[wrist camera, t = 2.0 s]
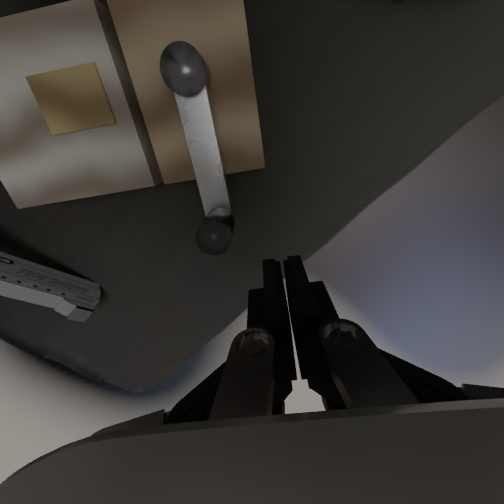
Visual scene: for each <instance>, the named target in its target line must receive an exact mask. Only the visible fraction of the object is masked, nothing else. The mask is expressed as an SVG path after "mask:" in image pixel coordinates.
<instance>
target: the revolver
mask: <svg viewBox="0 0 504 504" xmlns="http://www.w3.org/2000/svg"><path fill="white" fill-rule="evenodd" d="M0 295H1V296H5V297H9V298H14V299H18V300H22V301H26V302H30V303H34V304H38V305H42V306H46V307H50V308H55V311H57V312H59V313H60V314H62V315H65V316H68V319H70V320H75V321H80V322H84V321H85V320H86V319H87V318H88V317H89V316H90V314H91V313H92V312H93V311H94V310H95V308H96V306H97V305H98V303H99V300H100V296H101V290H100V285H99V284H97V283H96V282H93V281H90V280H87V279H84V278H80V277H77V276H74V275H71V274H68V273H65V272H62V271H59V270H56V269H53V268H50V267H47V266H44V265H41V264H38V263H35V262H32V261H29V260H26V259H23V258H19V257H16V256H13V255H10V254H7V253H4V252H1V251H0Z"/></svg>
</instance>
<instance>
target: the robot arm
mask: <svg viewBox="0 0 504 504" xmlns="http://www.w3.org/2000/svg"><path fill="white" fill-rule="evenodd" d="M287 258H288V260H283V263H284V272H285V280H286V288H287V297H288V305H289V311H288V306H287V300H286V294H285V289H284V283H283V278H282V272H281V266H280V261H275V259H266V260H263V279H264V288H260V289H252V290H249V296H248V316H247V330H244V331H242V332H240V333H239V334H238V335H237V336H236V337H235V338H234V340H233V342H232V344H231V347H230V351H229V354H228V357H227V360H226V362H225V363H223V364H222V365H221V366H220V367H219V368H217V369H216V370H215V371H214V372H213V373H212V374H210V375H209V376H208V377H207V378H206V379H205V380H203V381H202V382H201V383H200V384H199V385H198V386H196V387H195V388H194V389H193V390H192V391H191V392H189V393H188V394H187V395H186V396H185V397H184V398H182V399H181V400H180V401H179V402H178V403H177V404H176V405H175V406H174V408H173V409H172V410H171V411H169V412H165V410H164V409H162V410H160V411H156V412H153V413H150V414H147V415H144V416H141V417H138V418H134V419H131V420H128V421H125V422H122V423H119V424H116V425H112V426H110V427H106V428H103V429H101V430H99V431H97V432H95V433H94V434H93V435H91V436H90V437H87V438H84V439H81V440H78V441H75V442H72V443H69V444H67V445H64V446H62V447H60V448H58V449H56V450H54V451H52V452H49V453H47V454H45V455H43V456H41V457H39V458H37V459H36V460H34V461H32V462H30V463H28V464H27V465H26V466H24V467H22V468H21V469H19V470H18V471H16V472H15V473H13V474H12V475H11V476H9V477H8V478H7V479H6V480H5V481H3V482H2V483H1V484H0V504H504V388H498V387H489V386H479V385H471V384H462V387H461V388H460V387H456V386H454V385H453V384H452V383H450V382H448V381H446V380H445V379H443V378H441V377H439V376H437V375H434V374H432V373H430V372H428V371H426V370H424V369H422V368H419V367H417V366H415V365H413V364H411V363H408V362H407V361H404V360H402V359H400V358H397V357H396V356H394V355H392V354H389V353H387V352H385V351H383V350H381V349H379V348H377V347H376V345H375V344H374V343H373V341H372V340H371V339H370V338H369V336H368V335H367V334H366V332H365V331H364V330H363V329H362V328H361V327H360V326H359V325H358V324H356V323H354V322H352V321H349V320H346V319H339V316H338V314H337V312H336V310H335V308H334V305H333V303H332V301H331V299H330V296H329V294H328V292H327V290H326V287H325V285H324V283H323V281H316V282H309V280H308V278H307V274H306V272H305V269H304V266H303V263H302V260H301V257H300V255H296V256H289V257H287ZM289 312H290V318H291V324H292V329H293V335H294V340H295V346H296V351H297V357H298V362H299V368H300V372H301V378H302V379H307V380H308V385H309V388H310V389H312V390H314V391H315V392H317V393H318V394H320V395H321V396H322V401H323V404H324V407H325V410H326V411H318V412H306V413H293V414H285V402H284V400H285V399H286V397H287V396H288V395H289V394H290V393H291V392H292V382H291V380H297V375H296V367H295V358H294V350H293V342H292V333H291V325H290V318H289Z"/></svg>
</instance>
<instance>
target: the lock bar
mask: <svg viewBox="0 0 504 504" xmlns="http://www.w3.org/2000/svg"><path fill="white" fill-rule="evenodd" d="M160 72H161V76H162V78H163V81H164V82H165V84H166V85H167V87H168V88H169V89H170V90H171V91H173V92H174V94H175V97H176V101H177V105H178V109H179V113H180V117H181V121H182V125H183V129H184V133H185V137H186V140H187V144H188V148H189V152H190V156H191V160H192V164H193V168H194V172H195V176H196V180H197V184H198V187H199V191H200V195H201V199H202V203H203V207H204V211H205V215H206V218H205V219H204V221H203V223H202V224H201V226H200V228H199V229H198V231H197V233H196V243H197V246H198V247H199V249H200V250H201V251H203V252H204V253H206V254H208V255H220V254H222V253H224V252H225V251H226V250H227V249H228V248H229V245H230V241H231V237H232V233H233V229H234V224H235V220H234V214H233V209H232V204H231V199H230V194H229V189H228V184H227V179H226V174H225V169H224V164H223V159H222V154H221V149H220V144H219V139H218V134H217V130H216V125H215V120H214V115H213V110H212V105H211V100H210V95H209V90H208V88H209V86H210V80H211V75H210V70H209V67H208V65H207V63H206V61H205V60H204V59H203V57H202V56H201V55H200V53H199V52H198V51H197V50H196V48H195V47H194V46H192V45H191V44H189V43H187V42H185V41H174V42H172V43H170V44H168V45H167V46H166V47H165V49H164V50H163V52H162V54H161V58H160Z"/></svg>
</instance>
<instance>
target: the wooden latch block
mask: <svg viewBox="0 0 504 504" xmlns="http://www.w3.org/2000/svg"><path fill="white" fill-rule="evenodd" d="M107 3H108V6H109V9H107V8H106V7H105V6H104V5H103V4H101V3H100V2H99V1H98V0H71V1H67V2H63V3H59V4H55V5H50V6H46V7H42V8H38V9H34V10H30V11H26V12H22V13H18V14H14V15H10V16H5V17H1V18H0V180H1V182H2V183H3V185H4V187H5V188H6V190H7V192H8V193H9V195H10V197H11V198H12V200H13V202H14V203H15V205H16V206H17V208H18V209H19V208H25V207H31V206H38V205H44V204H50V203H56V202H62V201H68V200H74V199H80V198H86V197H92V196H98V195H104V194H110V193H116V192H122V191H128V190H134V189H140V188H146V187H152V186H156V185H158V184H159V183H161V182H163V181H164V184H170V183H176V182H182V181H188V180H194V179H196V176H195V172H194V168H193V164H192V160H191V156H190V152H189V148H188V144H187V140H186V137H185V133H184V129H183V125H182V121H181V117H180V113H179V109H178V105H177V101H176V97H175V94H174V92H173V91H171V90H170V89H169V88H168V87H167V85H166V84H165V82H164V81H163V78H162V76H161V72H160V58H161V54H162V52H163V50H164V49H165V47H166V46H167V45H168V44H170V43H172V42H174V41H185V42H187V43H189V44H191V45H192V46H194V47H195V48H196V50H197V51H198V52H199V53H200V55H201V56H202V57H203V59H204V60H205V61H206V63H207V65H208V67H209V70H210V75H211V80H210V86H209V88H208V90H209V95H210V100H211V105H212V110H213V115H214V120H215V125H216V130H217V134H218V139H219V144H220V149H221V154H222V159H223V164H224V169H225V174H230V173H236V172H242V171H248V170H255V169H261V168H265V162H264V154H263V147H262V139H261V131H260V124H259V116H258V108H257V101H256V93H255V85H254V78H253V70H252V63H251V55H250V47H249V40H248V32H247V24H246V17H245V9H244V1H243V0H107Z"/></svg>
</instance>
